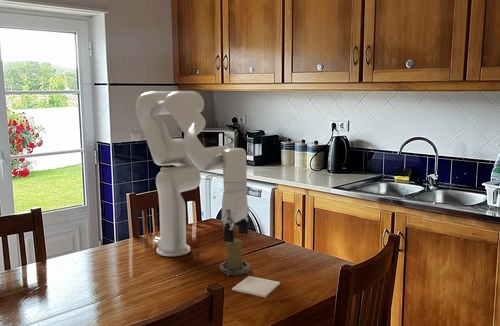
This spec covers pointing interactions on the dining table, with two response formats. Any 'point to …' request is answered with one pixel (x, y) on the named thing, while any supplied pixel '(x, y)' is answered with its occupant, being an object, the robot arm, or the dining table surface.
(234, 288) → the plate
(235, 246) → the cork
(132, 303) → the dining table surface
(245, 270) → the ring stand
